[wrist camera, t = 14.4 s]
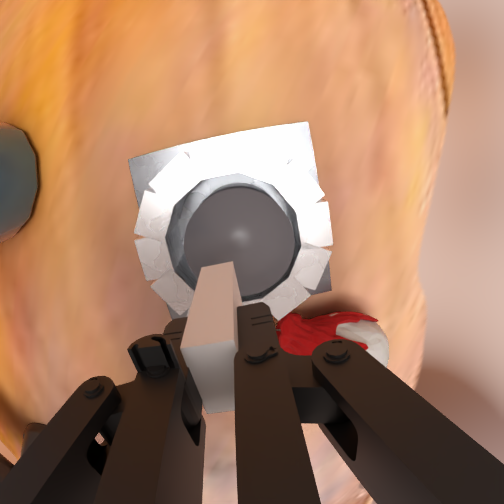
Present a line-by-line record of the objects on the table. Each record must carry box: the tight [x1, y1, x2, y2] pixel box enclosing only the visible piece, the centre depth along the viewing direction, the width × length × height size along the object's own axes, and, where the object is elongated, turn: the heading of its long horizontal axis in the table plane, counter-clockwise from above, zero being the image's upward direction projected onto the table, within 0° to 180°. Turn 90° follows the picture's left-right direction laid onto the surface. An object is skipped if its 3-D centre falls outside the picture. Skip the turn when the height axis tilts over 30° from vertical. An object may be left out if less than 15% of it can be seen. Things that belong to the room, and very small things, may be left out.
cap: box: [184, 183, 295, 296], centre depth 23 cm, size 8×8×6 cm
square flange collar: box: [128, 122, 333, 321], centre depth 24 cm, size 16×16×6 cm
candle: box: [276, 311, 389, 368], centre depth 27 cm, size 9×11×15 cm
